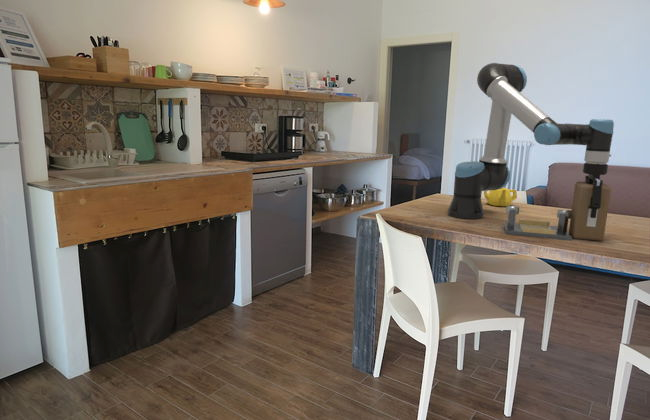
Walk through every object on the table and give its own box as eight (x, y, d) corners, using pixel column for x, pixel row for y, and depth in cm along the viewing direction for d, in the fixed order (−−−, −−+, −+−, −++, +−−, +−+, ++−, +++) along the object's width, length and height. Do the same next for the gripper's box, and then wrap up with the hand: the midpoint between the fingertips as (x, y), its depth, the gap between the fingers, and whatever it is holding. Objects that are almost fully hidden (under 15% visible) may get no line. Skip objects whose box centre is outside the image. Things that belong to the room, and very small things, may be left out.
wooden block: (597, 235, 173) (605, 182, 169) (603, 241, 163) (612, 186, 159) (568, 232, 176) (575, 180, 172) (572, 238, 167) (580, 184, 162)
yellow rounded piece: (478, 204, 230) (480, 184, 228) (494, 201, 238) (496, 182, 236) (503, 208, 219) (505, 188, 217) (519, 206, 227) (521, 186, 225)
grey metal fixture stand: (505, 234, 171) (508, 209, 169) (503, 225, 185) (505, 202, 183) (572, 240, 164) (575, 214, 162) (564, 230, 178) (567, 206, 176)
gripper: (617, 166, 152) (607, 231, 157) (599, 160, 173) (591, 217, 178) (592, 165, 154) (582, 229, 159) (577, 159, 176) (569, 216, 180)
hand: (587, 223), depth 169 cm, fingers closed on wooden block, 10 cm apart
